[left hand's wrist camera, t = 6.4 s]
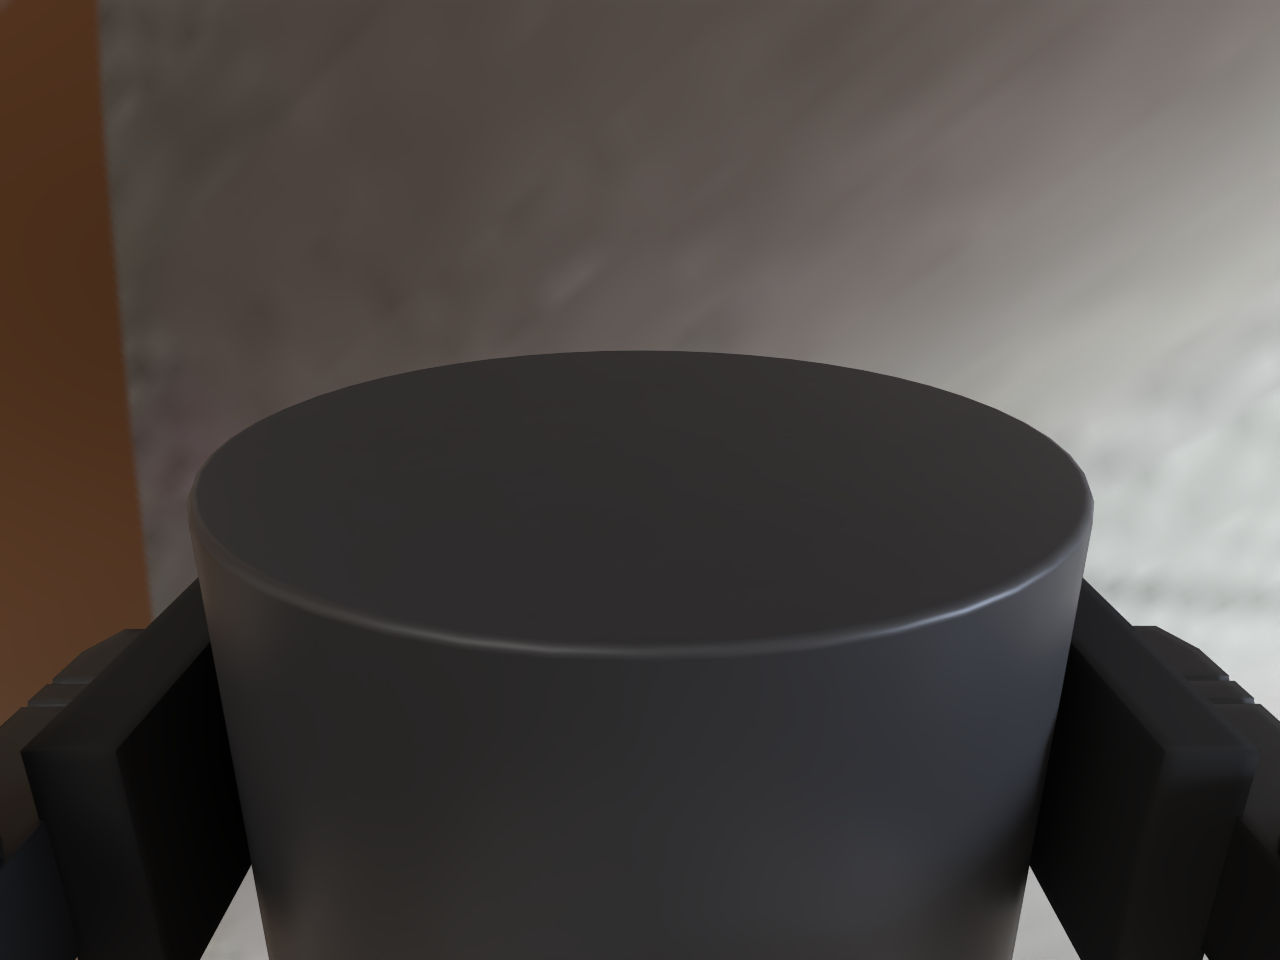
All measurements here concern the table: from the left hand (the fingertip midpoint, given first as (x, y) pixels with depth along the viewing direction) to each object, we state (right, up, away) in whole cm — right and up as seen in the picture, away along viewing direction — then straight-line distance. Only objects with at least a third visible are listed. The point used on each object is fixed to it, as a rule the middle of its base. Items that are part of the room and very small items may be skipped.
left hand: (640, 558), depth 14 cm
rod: (0, -10, +4) cm, 10 cm away
